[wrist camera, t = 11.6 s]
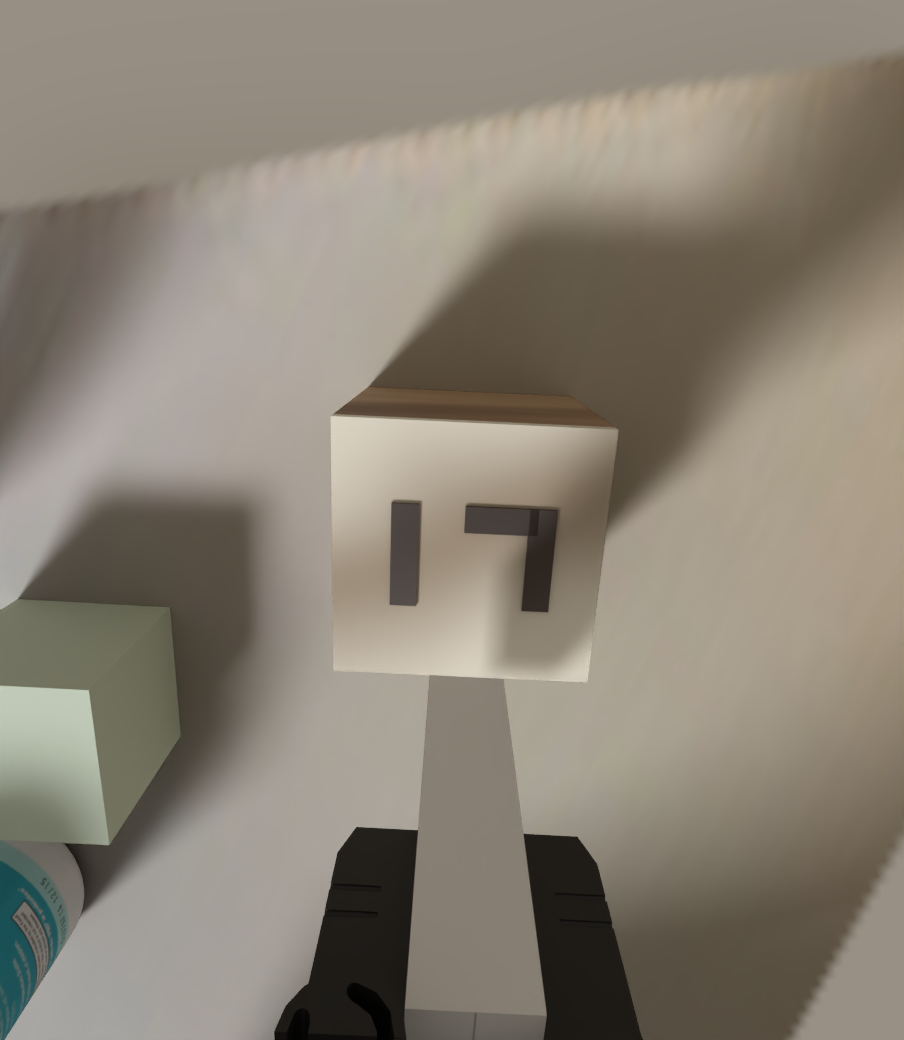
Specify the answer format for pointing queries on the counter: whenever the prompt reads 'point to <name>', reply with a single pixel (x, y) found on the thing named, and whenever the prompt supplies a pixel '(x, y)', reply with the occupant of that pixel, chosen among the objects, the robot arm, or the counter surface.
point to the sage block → (82, 716)
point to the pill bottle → (33, 918)
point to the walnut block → (468, 533)
